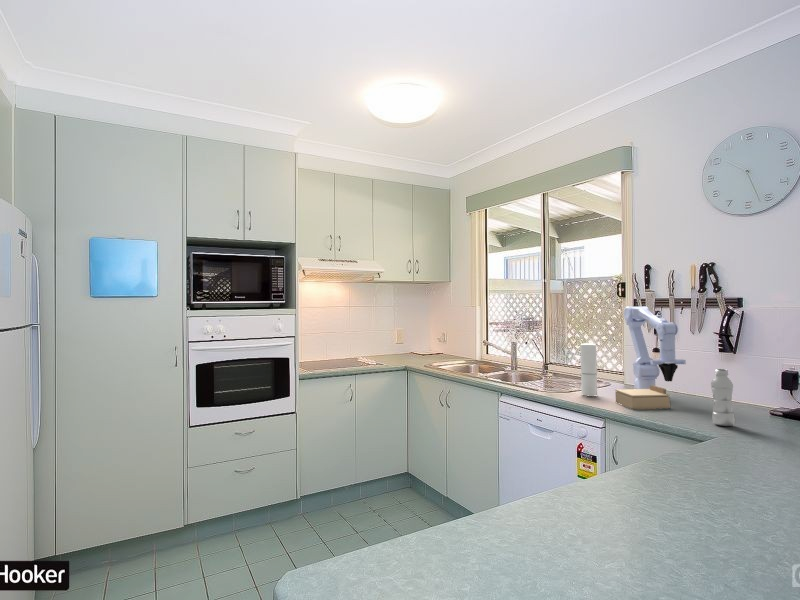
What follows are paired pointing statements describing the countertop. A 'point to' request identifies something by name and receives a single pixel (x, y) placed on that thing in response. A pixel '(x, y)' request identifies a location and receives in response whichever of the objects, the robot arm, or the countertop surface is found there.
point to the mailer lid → (644, 392)
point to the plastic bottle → (722, 399)
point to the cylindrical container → (588, 369)
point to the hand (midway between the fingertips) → (668, 381)
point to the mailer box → (643, 401)
